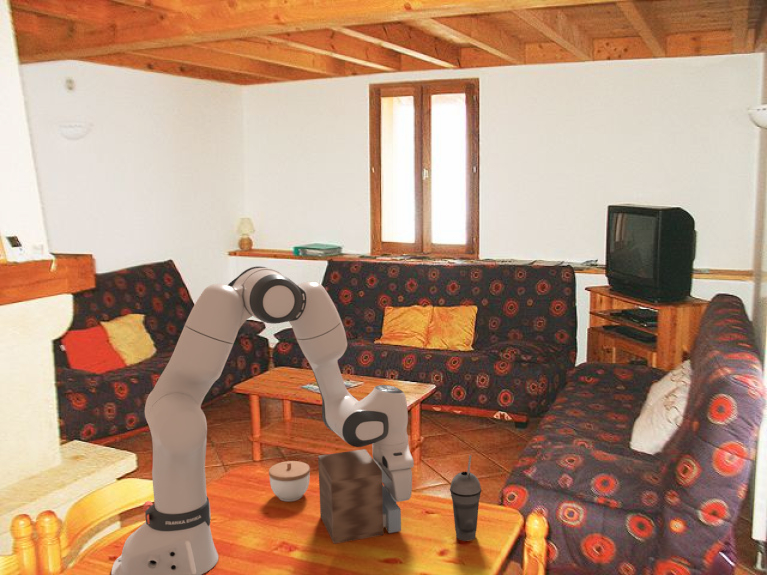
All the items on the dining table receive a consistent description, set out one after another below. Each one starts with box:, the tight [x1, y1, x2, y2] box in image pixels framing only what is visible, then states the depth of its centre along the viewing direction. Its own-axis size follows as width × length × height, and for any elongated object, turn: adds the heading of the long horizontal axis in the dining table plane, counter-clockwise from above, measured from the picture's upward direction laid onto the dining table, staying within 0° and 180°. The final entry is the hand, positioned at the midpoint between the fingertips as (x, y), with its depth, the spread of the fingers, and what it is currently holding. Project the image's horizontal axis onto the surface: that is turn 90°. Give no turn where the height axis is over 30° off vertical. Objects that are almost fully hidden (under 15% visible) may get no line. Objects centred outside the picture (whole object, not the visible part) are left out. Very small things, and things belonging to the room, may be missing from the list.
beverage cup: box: [449, 454, 482, 542], centre depth 170 cm, size 7×7×20 cm
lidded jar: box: [268, 460, 311, 503], centre depth 193 cm, size 11×11×9 cm
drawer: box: [382, 484, 402, 534], centre depth 178 cm, size 14×15×6 cm
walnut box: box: [317, 448, 384, 544], centre depth 176 cm, size 12×14×16 cm
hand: (391, 502), depth 182 cm, fingers closed, pressing on drawer
